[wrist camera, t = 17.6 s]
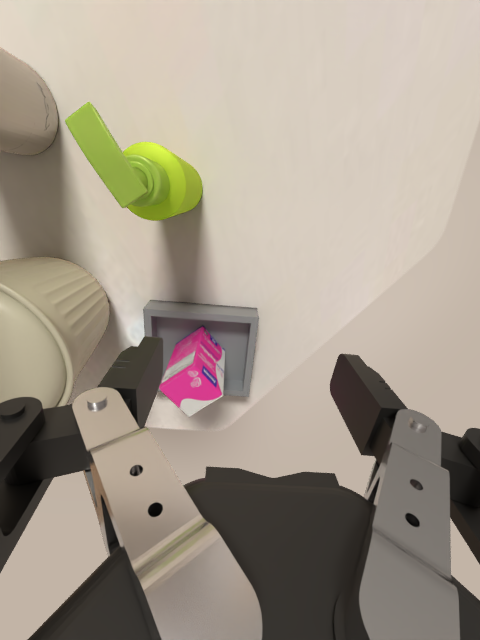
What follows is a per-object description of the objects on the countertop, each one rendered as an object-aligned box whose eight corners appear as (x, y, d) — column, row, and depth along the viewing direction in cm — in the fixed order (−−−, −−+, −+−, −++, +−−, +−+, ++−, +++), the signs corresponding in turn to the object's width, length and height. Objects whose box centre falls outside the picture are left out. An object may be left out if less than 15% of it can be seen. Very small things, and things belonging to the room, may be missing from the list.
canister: (111, 230, 37) (-23, 269, 18) (143, 347, 44) (73, 463, 25) (-21, 243, 37) (-292, 295, 18) (33, 357, 45) (-118, 479, 26)
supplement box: (227, 349, 44) (224, 397, 33) (198, 368, 45) (187, 420, 35) (204, 323, 42) (193, 365, 31) (174, 343, 43) (155, 390, 33)
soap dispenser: (180, 141, 33) (113, 75, 15) (211, 197, 35) (186, 199, 17) (141, 169, 34) (32, 138, 16) (173, 220, 36) (112, 246, 18)
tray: (154, 377, 47) (148, 390, 44) (150, 300, 41) (143, 308, 38) (247, 383, 48) (248, 396, 44) (256, 308, 42) (258, 317, 39)
